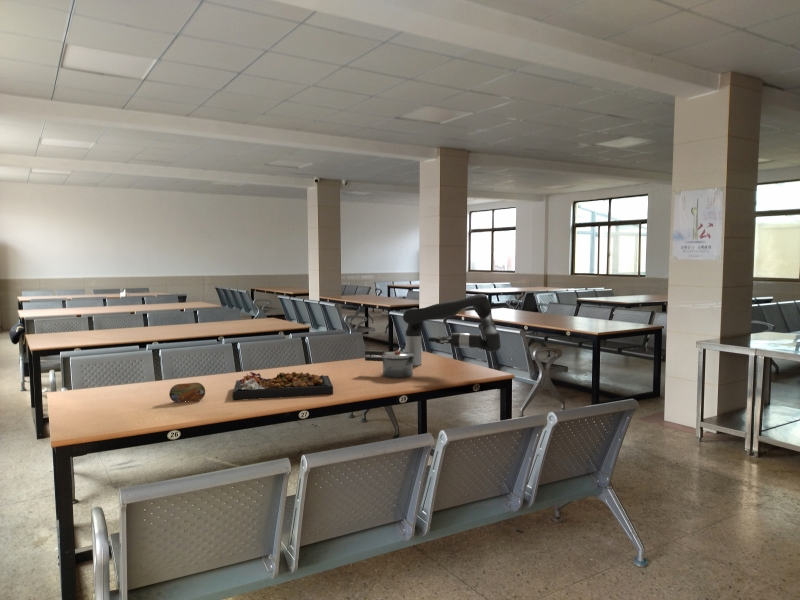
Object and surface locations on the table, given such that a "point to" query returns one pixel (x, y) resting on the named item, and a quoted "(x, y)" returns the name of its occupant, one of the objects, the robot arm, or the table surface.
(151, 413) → the table surface
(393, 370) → the cooker pot
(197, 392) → the tin
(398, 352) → the cooker lid
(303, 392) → the food platter
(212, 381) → the table surface
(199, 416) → the table surface
